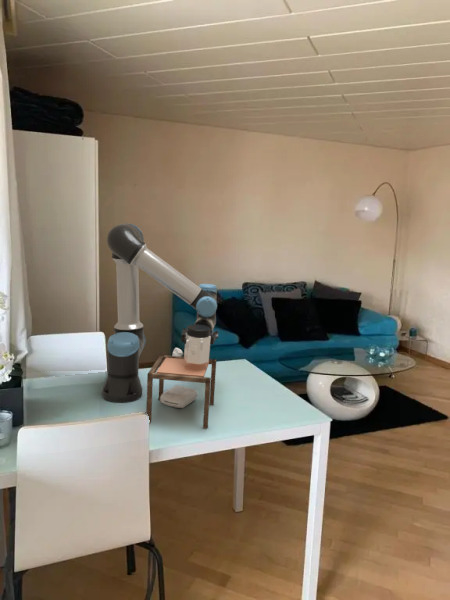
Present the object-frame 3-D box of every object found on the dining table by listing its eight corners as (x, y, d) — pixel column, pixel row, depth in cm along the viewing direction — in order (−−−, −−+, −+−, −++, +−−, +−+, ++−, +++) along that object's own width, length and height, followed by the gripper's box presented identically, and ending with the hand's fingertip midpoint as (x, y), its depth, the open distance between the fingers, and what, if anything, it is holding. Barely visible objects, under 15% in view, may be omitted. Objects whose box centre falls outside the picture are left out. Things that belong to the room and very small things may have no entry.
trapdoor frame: (146, 422, 164) (147, 373, 160) (159, 398, 184) (160, 354, 181) (207, 428, 162) (210, 379, 159) (213, 403, 183) (216, 359, 179)
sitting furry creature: (160, 372, 213) (161, 346, 211) (176, 369, 218) (178, 343, 216) (171, 378, 206) (172, 352, 204) (188, 375, 211) (189, 349, 209)
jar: (180, 361, 166) (182, 328, 163) (187, 354, 174) (189, 322, 171) (205, 365, 164) (208, 332, 162) (211, 358, 172) (214, 326, 170)
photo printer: (174, 394, 189) (157, 405, 178) (174, 383, 189) (157, 394, 178) (197, 399, 185) (181, 411, 174) (198, 389, 184) (181, 400, 173)
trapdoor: (156, 374, 163) (156, 371, 163) (165, 360, 178) (166, 357, 178) (203, 378, 162) (203, 375, 161) (208, 363, 177) (208, 361, 177)
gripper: (224, 339, 186) (218, 358, 163) (180, 336, 187) (168, 354, 164) (225, 320, 184) (220, 337, 161) (181, 317, 185) (169, 332, 162)
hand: (194, 345), depth 163 cm, fingers closed on jar, 4 cm apart
